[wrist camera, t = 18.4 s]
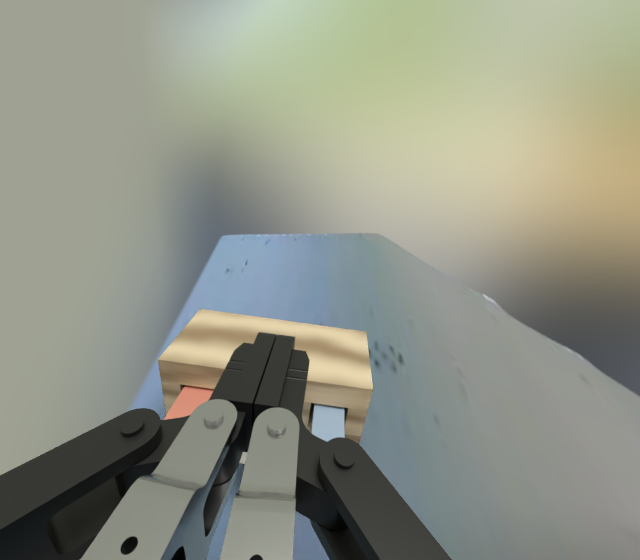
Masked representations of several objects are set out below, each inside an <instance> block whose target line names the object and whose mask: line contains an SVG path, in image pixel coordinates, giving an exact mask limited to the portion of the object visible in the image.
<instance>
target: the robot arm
mask: <svg viewBox="0 0 640 560" xmlns="http://www.w3.org/2000/svg"><path fill="white" fill-rule="evenodd" d="M294 347H295V337H293V336H286V335H279V334H278V335H277V334H271V333H264V332H258V334H257V337H256V339H255V341H254V343H253V344H251V343H243V344H241V345H240V346H239V347H238V348H236V349H235V350H234V352H233V354H232V356H231V358H230V360H229V362H228V364H227V365H226V367H225V369H224V371H223V373H222V375H221V377H220V379H219V381H218V383H217V385H216V387H215V389H214V391H213V393H212V395H211V397H210V399H209V400H208V401H206V402H204V403H202V404H201V405H199V406H198V407H197V408H196V409H195V410H194V411H193V412H192V414H191V415H188V416H185V417H180V418H174V419H167V420H160V417H159V415H158V414H157V413H156V412H155V411H153V410H151V409H145V408H141V409H135V410H131V411H128V412H126V413H124V414H122V415H120V416H118V417H116V418H114V419H112V420H110V421H108V422H106V423H104V424H102V425H100V426H98V427H96V428H94V429H92V430H90V431H88V432H86V433H84V434H82V435H80V436H78V437H76V438H74V439H72V440H70V441H68V442H66V443H64V444H62V445H60V446H59V447H56V448H54V449H52V450H50V451H48V452H46V453H44V454H42V455H40V456H38V457H36V458H34V459H32V460H30V461H28V462H26V463H24V464H22V465H20V466H18V467H17V468H14V469H12V470H10V471H8V472H6V473H4V474H2V475H1V476H0V560H80V559H81V560H207V555H208V550H209V546H210V543H211V540H212V537H213V535H214V532H215V530H216V527H217V524H218V522H219V519H220V517H221V514H222V512H223V509H224V507H225V504H226V502H227V499H228V496H229V494H230V491H231V489H232V486H233V484H234V481H235V479H236V476H237V468H238V466H239V462H240V459H241V456H242V453H243V452H248V453H247V457H246V462H245V466H244V471H243V475H242V480H241V484H240V488H239V491H238V493H236V495H235V498H234V501H233V505H232V509H231V513H230V518H229V522H228V526H227V531H226V535H225V539H224V544H223V548H222V552H221V557H220V560H292V556H293V540H294V523H295V510H296V511H297V512H299V513H301V514H302V515H304V516H306V517H308V518H309V519H310V521H311V524H312V527H313V529H314V531H315V533H316V534H317V536H318V538H319V540H320V542H321V544H322V546H323V548H324V549H325V551H326V553H327V555H328V557H329V559H330V560H452V559H451V558H450V557H449V556H448V554H447V553H446V552H445V551H444V550H443V548H442V547H441V546H440V545H439V543H438V542H437V541H436V540H435V538H434V537H433V536H432V535H431V533H430V532H429V531H428V530H427V528H426V527H425V526H424V525H423V523H422V522H421V521H420V520H419V518H418V517H417V516H416V515H415V513H414V512H413V511H412V510H411V508H410V507H409V506H408V505H407V503H406V502H405V501H404V500H403V498H402V497H401V496H400V495H399V493H398V492H397V491H396V490H395V488H394V487H393V486H392V485H391V483H390V482H389V481H388V480H387V478H386V477H385V476H384V475H383V473H382V472H381V471H380V470H379V468H378V467H377V466H376V465H375V463H374V462H373V461H372V460H371V458H370V457H369V456H368V455H367V453H366V452H365V451H364V450H363V448H362V447H361V446H360V445H359V444H358V443H356V442H355V441H353V440H351V439H348V438H343V437H337V438H333V439H331V440H329V441H328V442H327V441H325V440H322V439H320V438H318V437H317V436H315V435H313V434H312V433H311V432H310V431H309V430H308V429H307V428H306V427H305V425H304V423H303V420H302V412H303V406H304V399H305V392H306V385H307V377H308V369H309V362H310V360H309V358H308V355H307V353H306V351H302V350H295V349H294Z"/></svg>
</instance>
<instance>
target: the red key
mask: <svg viewBox="0 0 640 560" xmlns="http://www.w3.org/2000/svg"><path fill="white" fill-rule="evenodd" d="M213 391H214V389H210V388H203V387H196V386H189V385H185V387H184V388H183V390H182V391H181V393H180V394H179V396H178V398H177V399H176V401H175V402H174V404H173V405H172V407H171V409H170V410H169V412H168V413H167V415H166V416H165V418H164V419H163V420H167V419H174V418H180V417H185V416H188V415H191V414H192V412H193V411H194V410H195V409H196V408H197V407H198V406H199V405H201V404H202V403H204V402H206V401H208V400H209V399H210V397H211V395H212V393H213Z"/></svg>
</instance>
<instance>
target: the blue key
mask: <svg viewBox="0 0 640 560" xmlns="http://www.w3.org/2000/svg"><path fill="white" fill-rule="evenodd" d="M311 433H312V434H313V435H315V436H317V437H318V438H320V439H322V440H325V441H327V442H328V441H329V440H331V439H333V438H337V437H343V438H345V430H344V407H338V406H330V405H323V404H316V403H314V406H313V415H312V424H311Z"/></svg>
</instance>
